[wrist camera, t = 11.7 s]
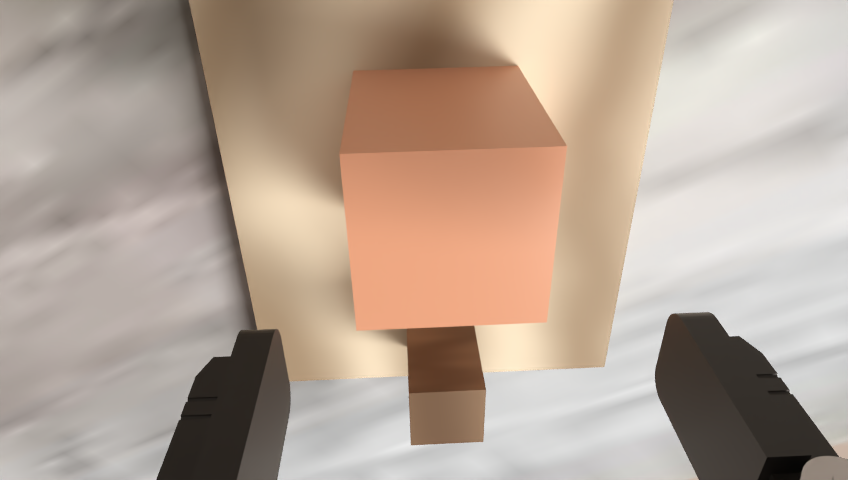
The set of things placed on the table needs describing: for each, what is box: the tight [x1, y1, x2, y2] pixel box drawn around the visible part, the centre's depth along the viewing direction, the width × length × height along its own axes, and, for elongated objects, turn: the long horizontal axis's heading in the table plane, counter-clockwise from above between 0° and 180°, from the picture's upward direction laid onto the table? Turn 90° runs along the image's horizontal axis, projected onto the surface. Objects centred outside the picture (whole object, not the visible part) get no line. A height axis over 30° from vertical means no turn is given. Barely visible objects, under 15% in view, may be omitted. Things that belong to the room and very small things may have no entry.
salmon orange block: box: [339, 66, 567, 331], centre depth 19 cm, size 5×5×7 cm
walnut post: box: [407, 326, 486, 445], centre depth 24 cm, size 3×3×5 cm
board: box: [189, 0, 674, 381], centre depth 22 cm, size 15×24×1 cm, turn 1°
